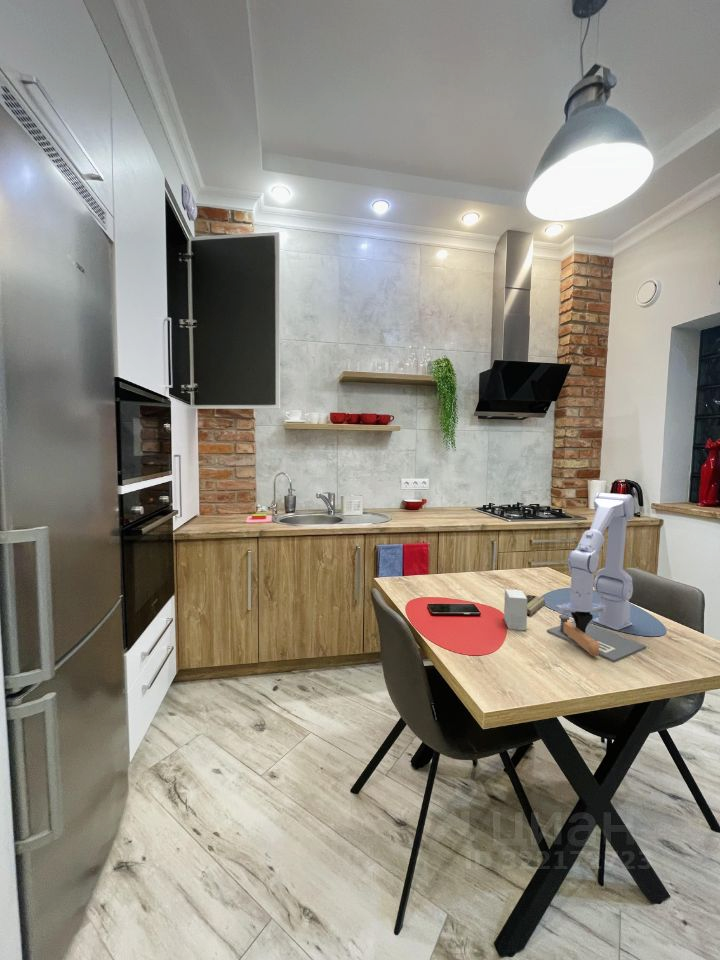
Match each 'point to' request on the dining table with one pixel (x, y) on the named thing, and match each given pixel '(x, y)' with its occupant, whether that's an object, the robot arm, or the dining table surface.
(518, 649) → the dining table surface
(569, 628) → the swing bar
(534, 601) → the brown flat block
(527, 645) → the dining table surface
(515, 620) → the small box
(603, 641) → the board
